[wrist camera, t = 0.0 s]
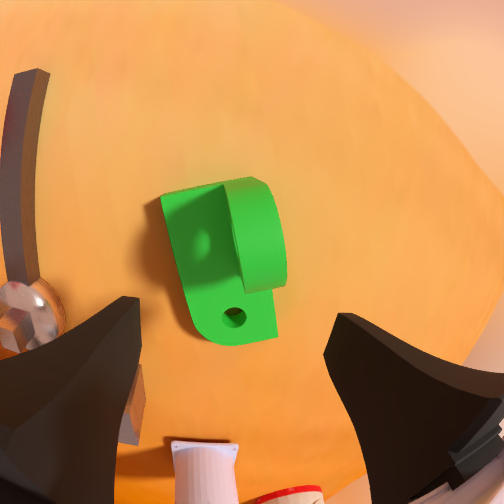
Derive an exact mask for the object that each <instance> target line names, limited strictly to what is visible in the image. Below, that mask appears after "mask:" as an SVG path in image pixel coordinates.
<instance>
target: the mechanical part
mask: <svg viewBox="0 0 504 504" xmlns="http://www.w3.org/2000/svg"><path fill="white" fill-rule="evenodd" d="M160 199H161V204H162V209H163V213H164V217H165V222H166V226H167V230H168V234H169V238H170V242H171V246H172V250H173V254H174V258H175V262H176V265H177V269H178V273H179V276H180V280H181V284H182V287H183V291H184V294H185V297H186V301H187V304H188V307H189V311H190V314H191V317H192V320H193V323H194V325H195V327H196V329H197V330H198V331H199V333H200V334H201V335H202V336H204V337H205V338H206V339H208V340H210V341H212V342H214V343H216V344H220V345H226V346H237V345H243V344H248V343H253V342H258V341H263V340H267V339H272V338H276V337H278V330H277V323H276V315H275V308H274V301H273V293H272V289H273V288H278V287H283V286H285V284H286V280H287V260H286V250H285V243H284V237H283V232H282V227H281V223H280V218H279V214H278V211H277V207H276V204H275V201H274V198H273V195H272V193H271V191H270V189H269V187H268V185H267V184H266V183H264V182H262V181H260V180H258V179H256V178H254V177H246V178H240V179H234V180H229V181H223V182H218V183H213V184H207V185H202V186H197V187H193V188H188V189H183V190H178V191H174V192H169V193H165V194H164V195H162V196H161V197H160ZM233 307H236V308H240V309H242V311H241V312H240V313H239V314H237V315H227V314H225V313H224V312H225V311H226V310H227V309H229V308H233Z"/></svg>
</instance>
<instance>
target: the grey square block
mask: <svg viewBox="0 0 504 504" xmlns="http://www.w3.org/2000/svg"><path fill="white" fill-rule="evenodd" d="M145 402H146V398H145V391H144V384H143V376H142V367H141V365H139V364H138V368H137V372H136V375H135V378H134V381H133V384H132V387H131V391H130V394H129V397H128V400H127V403H126V407H125V410H124V414H123V417H122V421H121V425H120V431H119V438H118V442H120V443H125V444H131V445H136V446H138V444H139V437H140V431H141V425H142V419H143V413H144V407H145Z"/></svg>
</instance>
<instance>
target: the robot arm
mask: <svg viewBox="0 0 504 504" xmlns="http://www.w3.org/2000/svg"><path fill="white" fill-rule="evenodd" d="M141 347H142V341H141V325H140V300H139V298H135V297H127V296H122V297H120V298H118V299H117V300H115V301H114V302H112V303H111V304H110V305H108V306H107V307H105V308H104V309H102V310H101V311H100V312H98V313H97V314H95V315H94V316H92V317H91V318H89V319H88V320H86V321H85V322H83V323H81V324H80V325H78V326H77V327H75V328H73V329H72V330H70V331H68V332H67V333H65V334H63V335H62V336H60V337H58V338H56V339H54V340H52V341H50V342H48V343H46V344H44V345H42V346H39V347H37V348H35V349H32V350H29V351H27V352H24V353H21V354H19V355H16V356H13V357H10V358H7V359H3V360H0V504H114V480H115V464H116V453H117V445H118V438H119V431H120V425H121V421H122V417H123V414H124V410H125V407H126V403H127V400H128V397H129V394H130V391H131V387H132V384H133V381H134V378H135V375H136V372H137V368H138V363H139V358H140V352H141ZM323 356H324V359H325V363H326V366H327V369H328V372H329V375H330V377H331V380H332V382H333V384H334V386H335V388H336V390H337V392H338V394H339V396H340V398H341V400H342V402H343V404H344V406H345V408H346V410H347V412H348V414H349V416H350V418H351V421H352V423H353V425H354V428H355V431H356V434H357V437H358V440H359V443H360V446H361V450H362V453H363V457H364V461H365V465H366V469H367V474H368V479H369V484H370V492H371V500H372V504H504V436H503V437H502V438H500V436H499V435H498V434H499V433H500V432H501V431H502V428H501V427H500V426H499V423H500V422H501V421H502V419H503V418H504V373H494V372H486V371H481V370H476V369H472V368H467V367H464V366H460V365H457V364H454V363H451V362H448V361H445V360H442V359H440V358H437V357H435V356H433V355H430V354H428V353H426V352H423V351H421V350H419V349H417V348H415V347H413V346H411V345H409V344H408V343H406V342H404V341H402V340H400V339H398V338H397V337H395V336H393V335H391V334H390V333H388V332H386V331H385V330H383V329H381V328H379V327H378V326H376V325H374V324H373V323H371V322H369V321H367V320H365V319H363V318H362V317H360V316H357V315H355V314H353V313H338V314H337V317H336V320H335V323H334V326H333V329H332V332H331V335H330V338H329V340H328V343H327V346H326V348H325V351H324V354H323ZM238 448H239V446H238V444H236V443H201V442H186V441H171V449H172V457H173V464H174V471H175V504H239V502H238V495H237V488H236V481H235V474H234V467H233V466H234V462H235V459H236V455H237V451H238Z"/></svg>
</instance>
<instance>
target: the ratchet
mask: <svg viewBox="0 0 504 504" xmlns="http://www.w3.org/2000/svg"><path fill="white" fill-rule="evenodd" d="M49 77H50V73H48V72H45V71H43V70H41V69H38V68H37V69H32V70H28V71H25V72H21V73H17V74H15V75H14V78H13V82H12V86H11V91H10V95H9V100H8V105H7V110H6V116H5V122H4V129H3V137H2V146H1V158H0V224H1V236H2V245H3V253H4V260H5V267H6V273H7V278H8V282H7V283H6V284H5V285H3V286H2V287H1V288H0V318H1V319H0V341H1V344H2V347H3V348H6V349H9V350H11V351H14V352H17V353H19V354H21V352H22V351H23V349H24V348H26V349H28V350H32V349H35V348H37V347H39V346H42V345H44V344H46V343H48V342H50V341H52V340H54V339H56V338H58V337H59V336H60V335H61V334H62V332H63V330H64V328H65V322H66V320H65V312H64V308H63V305H62V303H61V301H60V299H59V297H58V295H57V294H56V292H55V291H54V290H53V288H52V287H51V286H50V285H49V284H48V283H47V282H46V281H45V280H44V279H42V278H41V277H40V272H39V264H38V256H37V245H36V232H35V167H36V154H37V144H38V135H39V128H40V121H41V115H42V109H43V104H44V99H45V94H46V90H47V85H48V81H49Z"/></svg>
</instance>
